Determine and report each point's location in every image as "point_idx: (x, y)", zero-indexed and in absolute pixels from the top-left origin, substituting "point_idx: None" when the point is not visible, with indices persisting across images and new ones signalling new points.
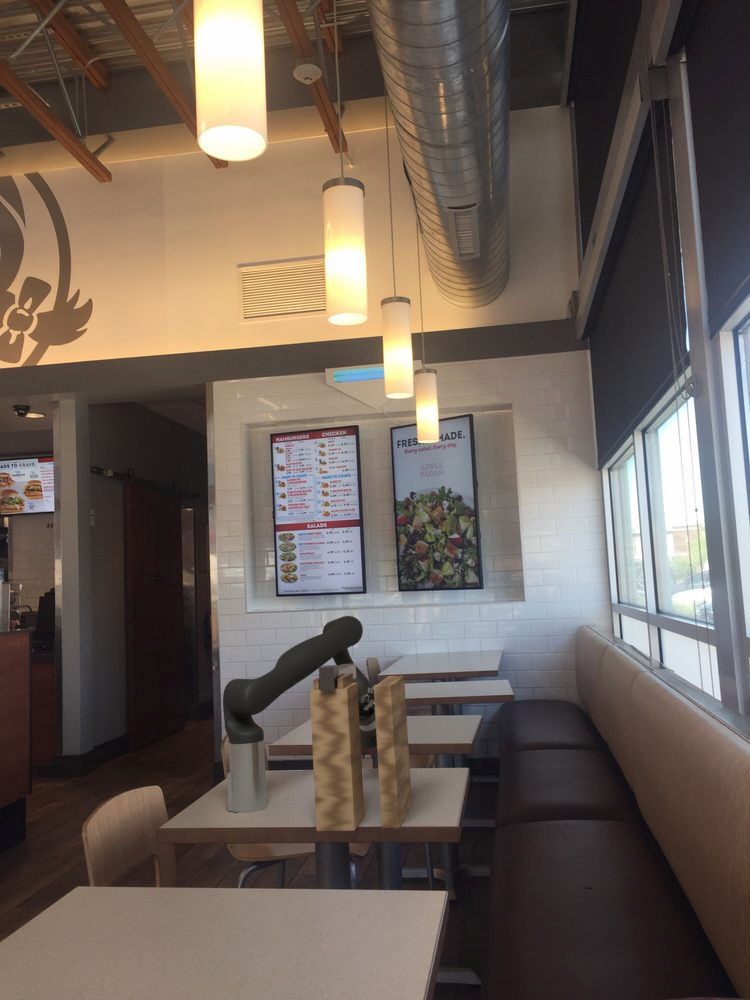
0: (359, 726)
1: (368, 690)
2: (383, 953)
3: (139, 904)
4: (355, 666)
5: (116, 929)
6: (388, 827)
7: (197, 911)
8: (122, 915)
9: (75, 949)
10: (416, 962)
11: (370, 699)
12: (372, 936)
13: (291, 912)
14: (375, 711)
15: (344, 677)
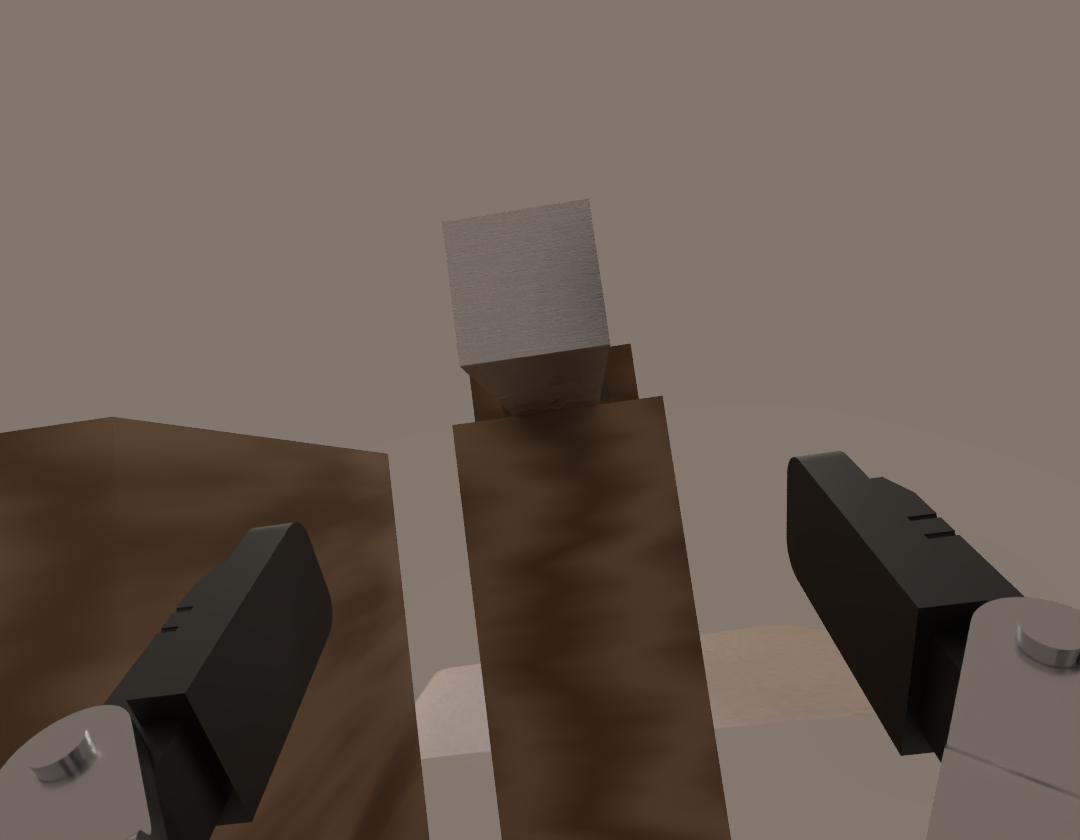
0: (483, 678)
1: (311, 569)
2: (465, 685)
3: (827, 688)
4: (447, 254)
5: (788, 663)
6: None
7: (720, 692)
8: (818, 675)
9: (792, 646)
10: (436, 684)
11: (247, 820)
12: (477, 696)
13: None
14: (396, 551)
15: None
